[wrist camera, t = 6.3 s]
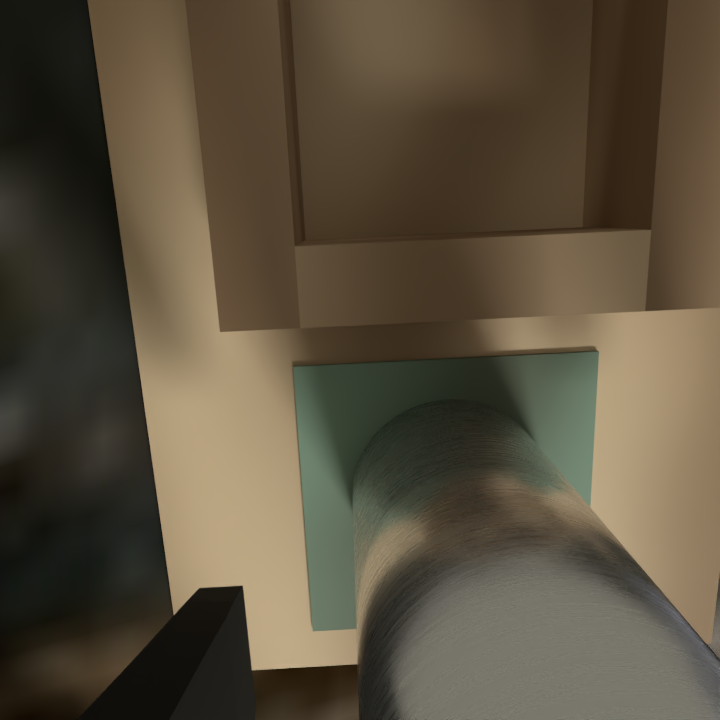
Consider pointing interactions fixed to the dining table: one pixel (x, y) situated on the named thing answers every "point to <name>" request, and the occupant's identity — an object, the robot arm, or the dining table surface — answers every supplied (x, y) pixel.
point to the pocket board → (415, 270)
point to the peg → (504, 587)
